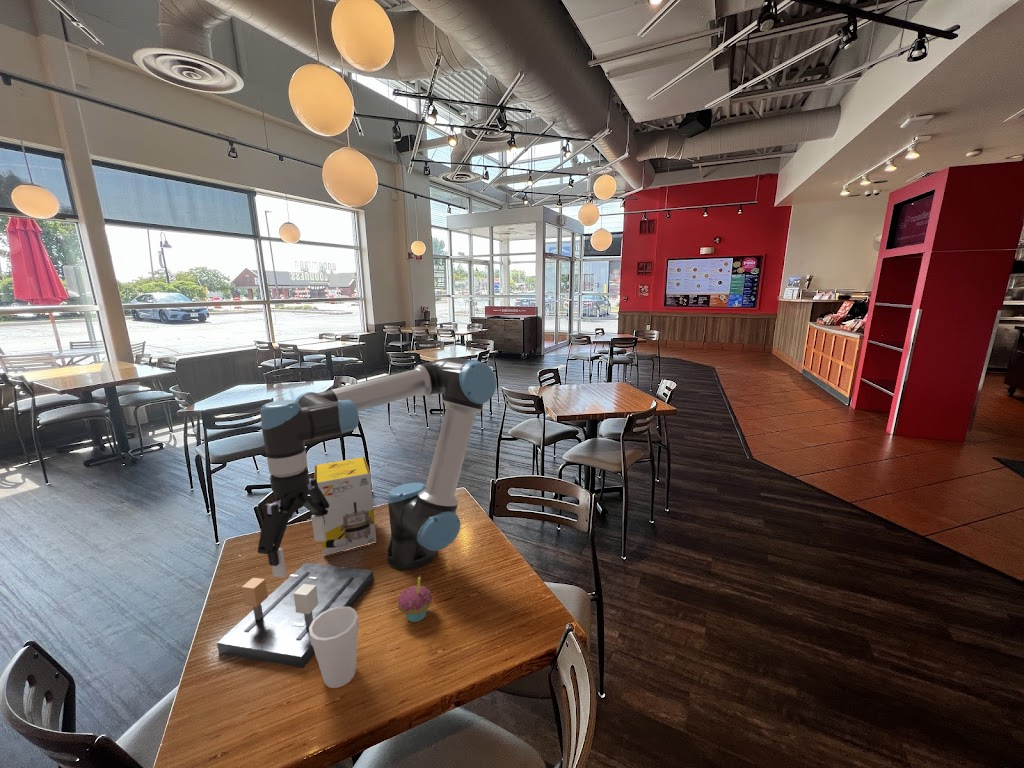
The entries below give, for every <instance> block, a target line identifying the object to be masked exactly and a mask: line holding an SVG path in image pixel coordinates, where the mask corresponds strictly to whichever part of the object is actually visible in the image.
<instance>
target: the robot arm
mask: <svg viewBox="0 0 1024 768" xmlns="http://www.w3.org/2000/svg"><path fill="white" fill-rule="evenodd" d="M496 388H497V380H496V375H495V373H494V371H493V370H492V368H491V367H490V366H489V365H488V364H487V363H485V362H482V361H479V360H475V359H467V358H458V357H455V356H454V357H444V358H440V359H436V360H433V361H429V362H426V363H422V364H417V365H416V366H415V368H414V369H412V370H407V371H402V372H398V373H395V374H391V375H386V376H382V377H378V378H375V379H370V380H369V379H368V380H366V381H362V382H359V383H358V382H357V383H354V384H349V385H346V386H341V387H337V388H332V389H329V390H325V391H321V392H315V391H314V392H313V391H311V392H310V391H309V392H304V393H301V394H299V396H297V397H296V399H284V400H275V401H274V400H273V401H270V402H267V403H265V404H263V405H262V406H261V408H260V409H259V413H260V422H261V423H260V424H261V426H260V427H261V432H262V437H263V443H264V449H265V456H266V460H267V467H268V473H269V474H270V475H269V480H270V487H271V488H270V489H271V492H273V493H274V494H275V501H274V502H272V503H265V504H264V507H263V510H264V512H263V513H264V516H263V522H262V526H261V533H260V536H259V540H258V541H259V542H258V546H257V554H261V555H267V559H268V560H267V561H268V565H269V566H270V567H271V571H272V576H273V578H274V577H276V578H284V579H285V578H287V574H288V573H287V568H286V563H285V556H284V549H283V548H282V547H280V546H281V543H282V542H283V538H284V535H285V532H286V529H287V526H288V524H289V521H290V520H291V519H292V517H293V515H294V513H296V512H297V511H298V510H299V509H302V508H305V509H307V510H308V511H310V512H311V513H312V515H311V524H312V531H313V539H314V541H315V542H322V541H326V534H325V526H324V525H325V520H324V515H327V513H328V510H325V509H326V508H329V503H328V501H327V500H326V498H325V497H324V495H323V494H322V492H321V490H320V489H319V487H318V484H317V480H316V479H315V478H310V474H309V473H310V472H309V469H308V458H307V457H308V456H307V451H306V443H305V442H306V441H311V440H316V439H321V438H325V437H329V436H334V435H338V434H345V433H348V432H352V431H354V430H356V429H357V428H358V425H359V420H360V418H359V417H360V416H359V412H362V411H365V410H369V409H372V408H373V409H374V408H376V407H380V406H382V405H386V404H390V403H393V402H394V403H395V402H398V401H401V400H405V399H407V398H413V397H415V396H418V395H422V396H425V397H427V396H431V395H436V394H437V395H441V394H442V395H443V398H442V402H443V404H444V406H445V413H444V416H443V419H442V423H441V427H440V431H439V434H438V438H437V443H436V445H435V450H434V453H433V457H432V460H431V461H432V462H431V464H430V469H429V472H428V477H427V481H426V483H422V482H407V483H403V484H401V485H397V486H395V487H394V488H392V489H391V490H389V491H388V494H387V505H388V515H389V525H390V526H389V527H390V540H389V542H388V547H387V550H386V557H387V558H386V560H387V563H388V565H389V566H390V567H392V568H394V569H397V570H403V571H405V570H407V571H408V570H416V569H418V568H421V567H424V566H426V565H427V564H429V563H431V562H432V561H433V560H434V559H435V557H436V555H437V552H438V551H441V550H444V549H446V548H448V547H449V545H450V544H452V543H453V542H454V541H455V540H456V538H458V535H459V533H460V530H461V520H460V518H459V515H458V514H456V513H457V509H458V505H459V500H458V499H457V497H456V492H457V488H458V485H459V484H458V483H459V480H460V475H461V472H462V468H463V464H464V461H465V457H466V453H467V448H468V444H469V441H470V437H471V433H472V432H471V431H472V429H473V425H474V421H475V417H476V415H477V414H479V413H480V412H481V411H482V410H483V407H484V404H485V403H487V402H489V401H490V399H493V396H494V395H495V393H496ZM282 512H283V513H282Z"/></svg>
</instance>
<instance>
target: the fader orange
mask: <svg viewBox="0 0 1024 768" xmlns="http://www.w3.org/2000/svg"><path fill="white" fill-rule="evenodd" d="M266 583H267V582H266V579H265V578H259V577H252V578H251V579H249V580H248V581H247V582H246V583H244V585H243V584H242V586H241V592H242V597H243V604H244V605H245V606H248V607H253V608H252V609H253V610H254V616H255V620H260V619H261V618H262V617H263V612H262V606H261V603H262V602H263V601H264V600H265V599H266V598H267V597H268V596H269V595H268V590H267V584H266ZM253 610H252V611H253Z"/></svg>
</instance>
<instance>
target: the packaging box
mask: <svg viewBox="0 0 1024 768" xmlns="http://www.w3.org/2000/svg"><path fill="white" fill-rule="evenodd" d="M371 477H372V476H371V471H370V469H369V465H368V463H367V460H366V457H365V456H362V457H356V458H350V459H345V460H338V461H332V462H331V461H330V462H325V463H320V464H315V465H314V479H316V480H317V484H318V487H319V489H320V490H321V492H322V494H323V495H324V497H325V498H326V500H327V501H328V503H329V508H326V509H325V510H328V513H327V515H324V520H325V525H324V526H325V534H326V541H321V546H322V555H326V554H330V553H334V552H338V551H342V550H346V549H349V548H353V547H357V546H361V545H365V544H368V543H372V542H376V541H377V531H376V530H377V529H376V521H375V520H376V519H375V512H374V511H375V510H374V502H373V501H374V500H373V488H372V480H371V479H372V478H371Z"/></svg>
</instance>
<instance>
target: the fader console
mask: <svg viewBox="0 0 1024 768" xmlns="http://www.w3.org/2000/svg"><path fill="white" fill-rule="evenodd" d="M374 579H375V578H374V571H373V570H371V569H363V568H355V567H346V566H345V567H344V566H339V565H338V566H336V565H328V564H319V563H312V562H311V563H310V562H305V563H303V564H302V565H301V566H300V567H299V568H298V569H297V570H295V572H294V573H292V574H290V575H289V577H288V578H287V579H285V581H283V583H281V584H280V585H279V586H278V587H277V588H275V589H274V590H273V592H271V593H270V594H269V595H268V597H267V598H266V599H265V600H264V601H263V602H262V603H261V606H262V612H263V617H262V618H261V619H260V620H255V616H254V610H252V611H250V612H249V613H248V614H247V615H246V616H245V617H244V618H242V619H241V621H239V622H238V623H237V624H236V625H235V626H233V627H232V628H231V629H230V630H229V631H228V632H227V633H225V634H224V635H223V637H222V638H221V639H220V640H218V641H217V643H216V646H217V649H218V651H217V652H218V655H223V656H228V657H235V658H240V659H246V660H251V661H258V662H264V663H270V664H275V665H280V666H281V665H282V666H286V667H293V668H299V669H304V668H306V666H307V664H308V663H309V662H310V661H311V659H312V658H313V657H314V656H315V652H314V648H313V646H312V645H311V640H310V633H309V627H306V624H305V617H304V613H297V612H296V608H295V601H294V593H295V592H296V591H297V590H298V589H299V588H300V587H301V586H302V585H303V584H309V585H316V588H317V596H318V605H317V606H316V607H315V608H314V609H313V610H312V615H313V620H314V619H315V618H316V617H317V616H318V615H319V614H321V613H322V612H324V611H326V610H328V609H330V608H335V607H339V606H346V607H351V608H353V607H354V605H355V604H356V602H358V601H359V600H360V598H361V597H362V595H363V594H364V593H365V591H367V589H368V588H369V586H370V585H371V584H372V583H373V581H374ZM371 582H372V583H371Z"/></svg>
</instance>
